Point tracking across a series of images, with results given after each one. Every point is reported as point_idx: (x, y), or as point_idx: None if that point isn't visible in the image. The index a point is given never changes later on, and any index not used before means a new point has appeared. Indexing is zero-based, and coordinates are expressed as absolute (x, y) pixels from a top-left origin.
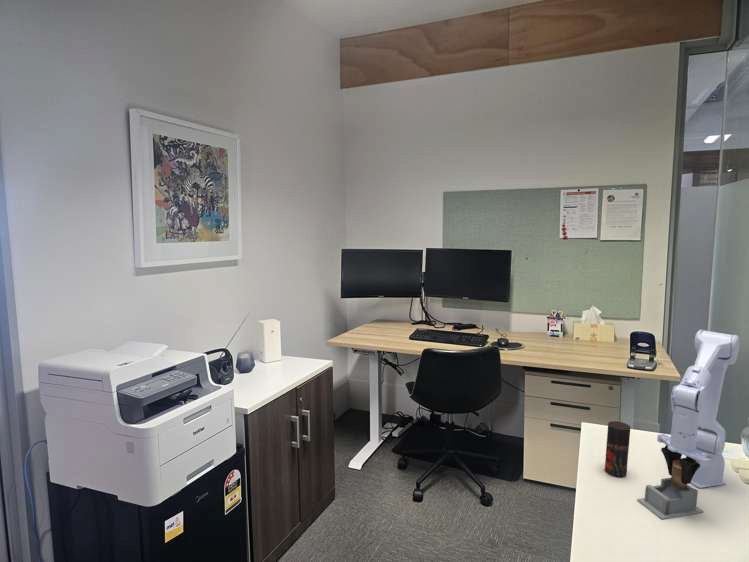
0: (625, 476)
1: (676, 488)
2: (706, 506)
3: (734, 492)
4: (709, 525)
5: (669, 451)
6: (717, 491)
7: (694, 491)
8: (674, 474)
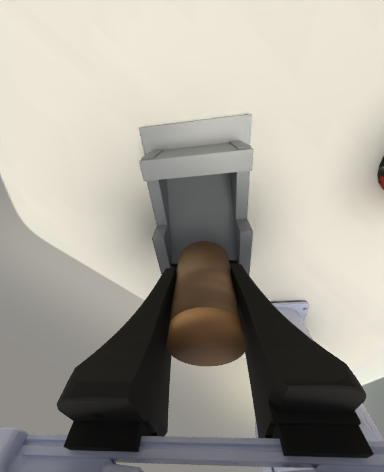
0: (378, 178)
1: None
2: None
3: None
4: (122, 238)
5: (281, 400)
6: None
7: None
8: (200, 273)
